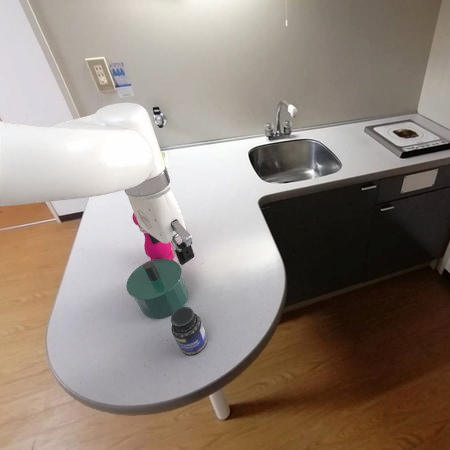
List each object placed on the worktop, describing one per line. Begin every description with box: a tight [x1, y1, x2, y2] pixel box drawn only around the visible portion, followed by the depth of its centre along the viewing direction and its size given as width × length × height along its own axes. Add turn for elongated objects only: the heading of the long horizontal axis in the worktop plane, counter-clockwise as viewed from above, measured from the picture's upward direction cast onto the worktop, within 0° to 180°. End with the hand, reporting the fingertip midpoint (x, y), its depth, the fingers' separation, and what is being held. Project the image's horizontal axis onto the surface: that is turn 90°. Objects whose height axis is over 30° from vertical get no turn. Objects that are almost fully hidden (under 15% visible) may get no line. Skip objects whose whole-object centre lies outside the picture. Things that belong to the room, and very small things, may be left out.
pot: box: [133, 276, 189, 320], centre depth 77 cm, size 12×12×8 cm
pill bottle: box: [170, 306, 208, 356], centre depth 67 cm, size 6×6×11 cm
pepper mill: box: [131, 212, 175, 261], centre depth 85 cm, size 7×7×20 cm
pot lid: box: [126, 259, 183, 300], centre depth 73 cm, size 13×13×6 cm
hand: (173, 250), depth 64 cm, fingers open, 9 cm apart
